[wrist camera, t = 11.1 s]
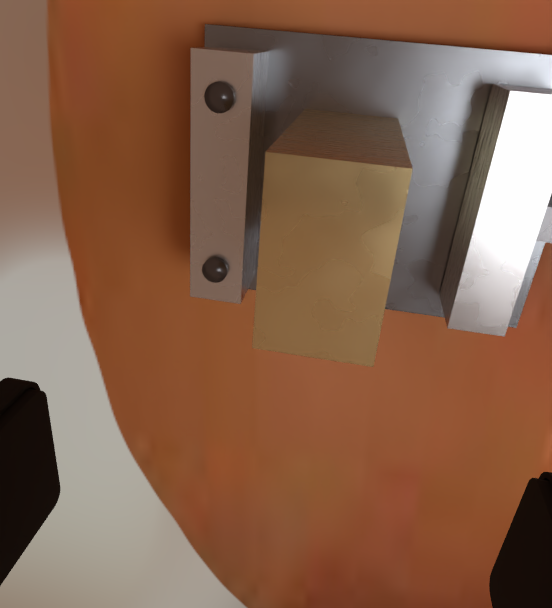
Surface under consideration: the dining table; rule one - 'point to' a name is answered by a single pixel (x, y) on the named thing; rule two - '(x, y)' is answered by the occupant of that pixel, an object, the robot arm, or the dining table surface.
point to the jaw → (501, 211)
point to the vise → (344, 99)
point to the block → (329, 235)
